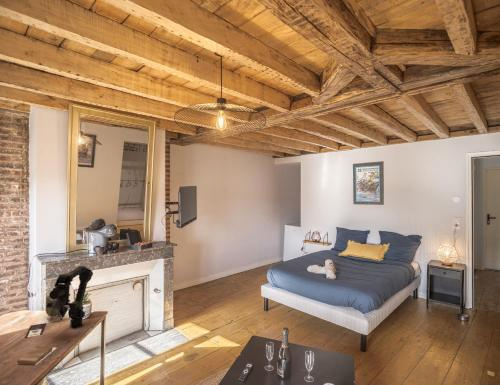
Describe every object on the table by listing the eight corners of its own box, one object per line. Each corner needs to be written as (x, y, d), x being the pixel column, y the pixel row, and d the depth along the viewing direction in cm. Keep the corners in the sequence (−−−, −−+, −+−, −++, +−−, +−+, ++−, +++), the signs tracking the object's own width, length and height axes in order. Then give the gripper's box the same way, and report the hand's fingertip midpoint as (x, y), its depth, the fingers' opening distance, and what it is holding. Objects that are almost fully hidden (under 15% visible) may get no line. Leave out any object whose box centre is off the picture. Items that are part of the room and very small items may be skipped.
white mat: (38, 347, 172) (38, 347, 172) (57, 348, 172) (57, 347, 172) (16, 364, 155) (16, 363, 155) (36, 365, 155) (36, 364, 155)
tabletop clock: (64, 320, 208) (66, 286, 208) (50, 324, 201) (52, 289, 201) (58, 314, 217) (60, 281, 218) (44, 317, 211) (46, 284, 211)
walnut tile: (36, 346, 168) (17, 360, 154) (52, 347, 169) (34, 361, 155) (36, 350, 168) (17, 364, 154) (52, 350, 169) (34, 364, 155)
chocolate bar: (46, 323, 202) (42, 334, 186) (46, 324, 202) (41, 336, 186) (30, 325, 197) (24, 337, 182) (30, 326, 197) (24, 338, 182)
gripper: (40, 297, 177) (39, 322, 177) (70, 298, 177) (69, 323, 177) (53, 291, 188) (51, 314, 188) (81, 292, 188) (79, 316, 188)
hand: (62, 317), depth 185 cm, fingers closed
